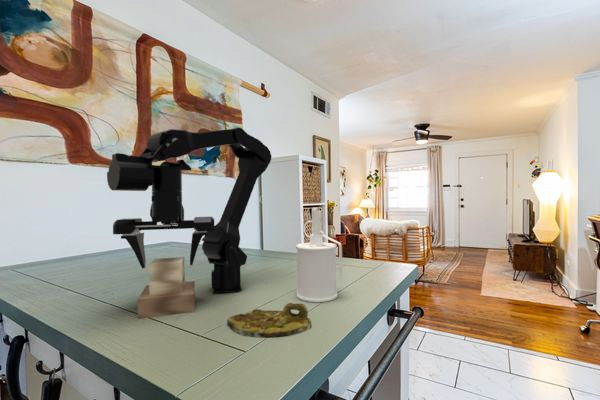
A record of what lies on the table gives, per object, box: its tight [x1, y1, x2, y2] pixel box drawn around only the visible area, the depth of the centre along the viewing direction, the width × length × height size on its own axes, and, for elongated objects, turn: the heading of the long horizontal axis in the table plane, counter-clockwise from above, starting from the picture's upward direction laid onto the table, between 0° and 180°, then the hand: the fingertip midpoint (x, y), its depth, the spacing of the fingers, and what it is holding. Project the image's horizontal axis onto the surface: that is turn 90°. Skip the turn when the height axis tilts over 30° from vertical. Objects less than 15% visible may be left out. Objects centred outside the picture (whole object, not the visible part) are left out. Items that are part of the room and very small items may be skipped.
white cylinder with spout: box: [295, 207, 343, 303], centre depth 68 cm, size 10×9×20 cm
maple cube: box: [148, 256, 186, 295], centre depth 63 cm, size 6×6×6 cm
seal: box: [226, 302, 312, 339], centre depth 52 cm, size 9×5×15 cm
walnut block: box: [137, 280, 196, 320], centre depth 63 cm, size 10×10×4 cm
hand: (168, 266), depth 63 cm, fingers open, 9 cm apart
